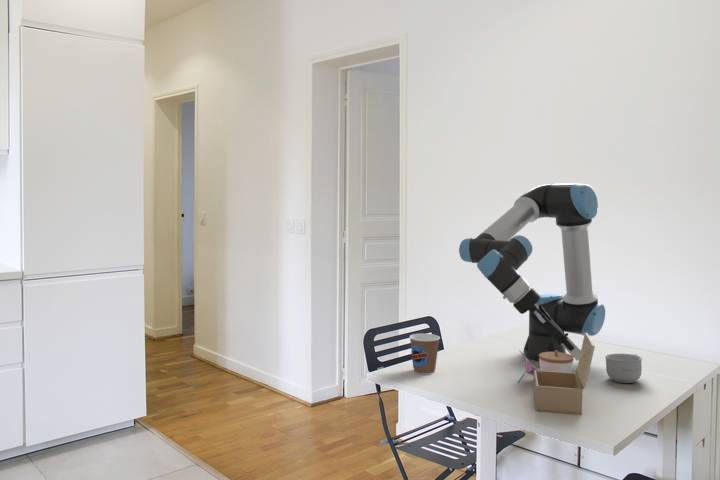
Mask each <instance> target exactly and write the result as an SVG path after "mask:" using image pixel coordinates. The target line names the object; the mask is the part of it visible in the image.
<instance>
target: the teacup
mask: <svg viewBox="0 0 720 480" xmlns="http://www.w3.org/2000/svg"><path fill="white" fill-rule="evenodd" d="M642 361H643V358H642V357H641V356H639V355H638V354H637V353H632V354H631V353H609V354H605V366H606V368H605V369H606V374H607V376H608V377H609V378H610V379H611V380H612V381H614V382H615V383H621V384H631V383H632V384H633V383H636V382H637V381H638V380H639V379H640V378H641V376H642V371H643V369H642Z"/></svg>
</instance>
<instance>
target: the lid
mask: <svg viewBox="0 0 720 480" xmlns="http://www.w3.org/2000/svg"><path fill="white" fill-rule="evenodd" d="M581 344H582V345H581V348H580V350H581V351H582V352H583V353H584V356H583V357H581V358H580V359H579V360H578V362H577V367H576V370H575V371H574V373H576V375H577V378H578V381H579V383H580V386H581V388H582V389H583V390H584V389H586V387H587V384H588V383H587V382H588V378H589V374H590V370H591V365H592V360H593V357H594V352H595V348H596V347H595V344H594V342H593V340H592V338H591V336H589V335H588V333H585V335H583V340H582V343H581Z"/></svg>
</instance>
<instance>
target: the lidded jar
mask: <svg viewBox="0 0 720 480" xmlns="http://www.w3.org/2000/svg"><path fill="white" fill-rule="evenodd" d="M574 360H575V358H574V357H573V356H572V355H571V354H570V353H567V352H566V353H562V352H558V351H557V350H555V352H543V353H540V354H539V360H538V361H539V362H538V363H539V371H553V372H568V373H573V372H572V371H573V367H574Z"/></svg>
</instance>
